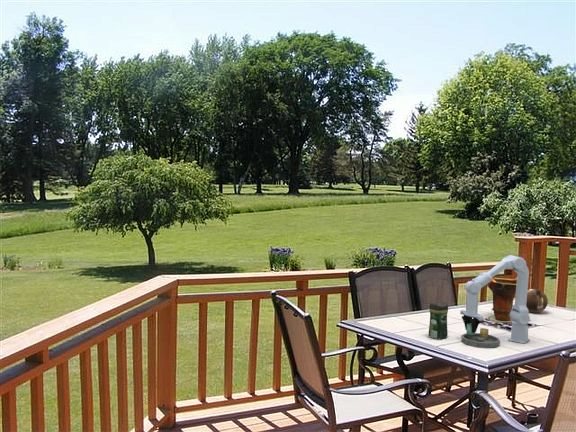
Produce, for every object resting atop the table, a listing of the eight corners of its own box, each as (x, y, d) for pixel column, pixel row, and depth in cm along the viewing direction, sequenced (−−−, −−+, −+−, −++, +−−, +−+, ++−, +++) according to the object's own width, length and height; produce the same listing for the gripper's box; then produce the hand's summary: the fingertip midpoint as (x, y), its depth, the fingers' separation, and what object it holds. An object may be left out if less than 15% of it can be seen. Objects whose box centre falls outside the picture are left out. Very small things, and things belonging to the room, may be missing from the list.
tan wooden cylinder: (481, 337, 276) (482, 327, 276) (489, 338, 273) (489, 329, 273) (478, 338, 273) (478, 329, 273) (486, 340, 270) (486, 330, 270)
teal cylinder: (468, 332, 275) (468, 322, 275) (476, 334, 273) (476, 324, 272) (465, 334, 272) (465, 324, 272) (472, 335, 270) (473, 325, 269)
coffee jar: (437, 334, 284) (439, 299, 283) (449, 337, 278) (451, 302, 277) (425, 336, 279) (426, 301, 278) (437, 340, 272) (438, 304, 271)
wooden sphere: (520, 308, 350) (521, 286, 349) (545, 310, 345) (546, 288, 344) (522, 313, 336) (523, 290, 335) (548, 316, 331) (550, 292, 330)
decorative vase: (529, 324, 306) (528, 276, 305) (486, 324, 311) (486, 276, 310) (520, 316, 327) (520, 271, 326) (481, 316, 331) (480, 271, 330)
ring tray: (469, 335, 282) (469, 331, 282) (504, 342, 270) (504, 337, 270) (455, 342, 269) (455, 337, 268) (491, 350, 257) (491, 345, 257)
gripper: (456, 302, 277) (454, 328, 278) (475, 308, 264) (474, 335, 264) (466, 301, 280) (465, 327, 280) (486, 307, 266) (485, 334, 267)
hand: (470, 331), depth 273 cm, fingers closed on teal cylinder, 4 cm apart
